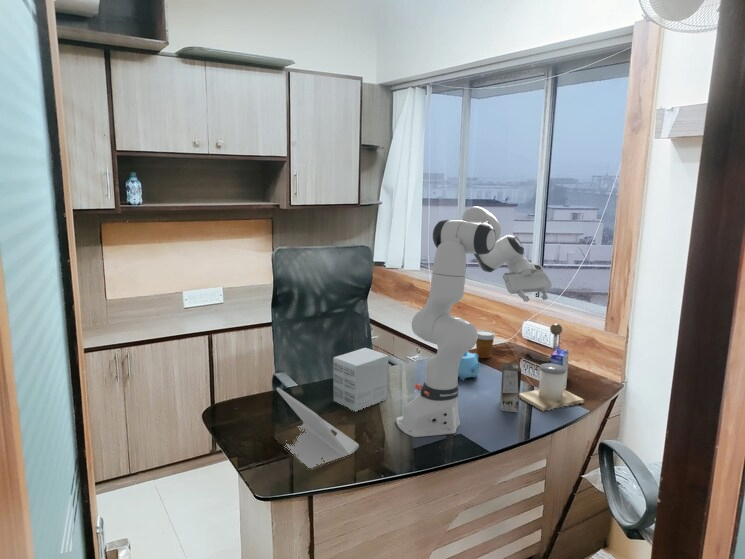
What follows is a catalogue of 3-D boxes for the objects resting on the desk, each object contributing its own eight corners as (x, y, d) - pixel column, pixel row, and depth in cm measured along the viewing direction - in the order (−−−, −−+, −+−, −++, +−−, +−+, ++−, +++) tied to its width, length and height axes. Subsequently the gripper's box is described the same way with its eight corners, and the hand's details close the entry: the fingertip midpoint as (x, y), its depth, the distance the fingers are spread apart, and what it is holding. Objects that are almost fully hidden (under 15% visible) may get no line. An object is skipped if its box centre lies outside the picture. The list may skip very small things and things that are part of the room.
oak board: (542, 411, 191) (542, 407, 191) (517, 397, 204) (518, 393, 204) (583, 403, 199) (583, 399, 199) (557, 389, 212) (557, 386, 212)
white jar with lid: (549, 403, 195) (552, 373, 193) (532, 393, 204) (534, 365, 202) (572, 398, 200) (575, 369, 197) (554, 389, 208) (557, 361, 206)
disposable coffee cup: (473, 359, 247) (475, 335, 245) (473, 352, 256) (474, 329, 254) (494, 360, 245) (495, 336, 243) (493, 354, 255) (494, 330, 252)
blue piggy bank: (442, 379, 221) (443, 353, 219) (449, 368, 234) (450, 344, 232) (478, 384, 216) (480, 358, 214) (483, 373, 229) (484, 348, 227)
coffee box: (518, 412, 190) (521, 371, 187) (500, 411, 191) (503, 369, 188) (517, 402, 199) (520, 362, 196) (499, 401, 200) (502, 361, 197)
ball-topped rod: (554, 351, 195) (556, 325, 193) (545, 348, 199) (548, 322, 197) (563, 350, 197) (565, 324, 195) (554, 347, 201) (557, 321, 199)
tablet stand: (309, 471, 150) (309, 416, 147) (270, 437, 170) (269, 388, 166) (360, 452, 161) (360, 401, 158) (317, 422, 181) (317, 376, 177)
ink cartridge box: (554, 374, 229) (557, 342, 226) (567, 376, 226) (570, 345, 223) (548, 381, 221) (551, 348, 218) (562, 384, 218) (564, 351, 215)
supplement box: (364, 389, 209) (365, 346, 206) (388, 399, 200) (389, 355, 196) (332, 401, 197) (332, 356, 194) (355, 413, 188) (356, 365, 184)
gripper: (505, 268, 206) (519, 297, 199) (545, 266, 214) (560, 293, 207) (497, 277, 210) (511, 306, 203) (537, 274, 219) (551, 302, 212)
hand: (536, 300), depth 205 cm, fingers open, 8 cm apart
